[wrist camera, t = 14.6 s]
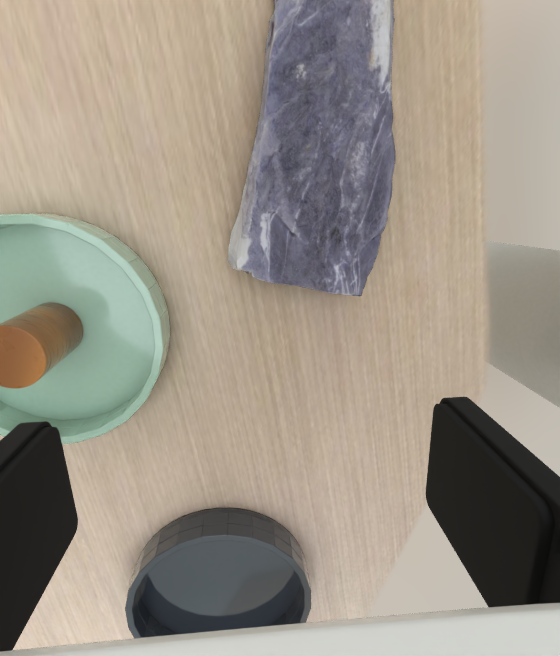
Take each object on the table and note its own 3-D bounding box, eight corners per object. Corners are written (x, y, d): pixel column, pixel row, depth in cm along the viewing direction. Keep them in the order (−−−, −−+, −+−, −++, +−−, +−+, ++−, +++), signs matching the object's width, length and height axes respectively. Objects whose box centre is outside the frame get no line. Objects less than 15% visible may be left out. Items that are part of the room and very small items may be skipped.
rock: (362, 291, 31) (385, 307, 26) (225, 271, 30) (222, 284, 25) (450, -105, 24) (502, -183, 19) (278, -155, 23) (287, -253, 18)
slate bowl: (336, 542, 38) (344, 571, 35) (256, 655, 42) (258, 691, 39) (180, 482, 35) (174, 509, 32) (108, 612, 38) (96, 647, 35)
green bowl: (206, 281, 30) (202, 290, 27) (120, 450, 33) (108, 475, 30) (-17, 167, 26) (-51, 162, 23) (-88, 370, 30) (-125, 389, 27)
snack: (92, 317, 29) (55, 344, 23) (72, 362, 30) (32, 399, 24) (37, 292, 28) (-15, 313, 23) (18, 339, 29) (-37, 372, 23)
